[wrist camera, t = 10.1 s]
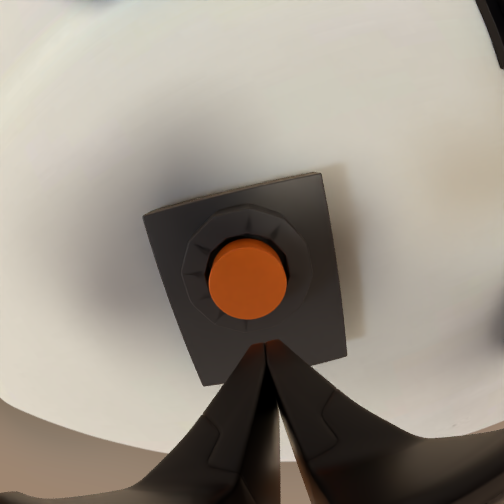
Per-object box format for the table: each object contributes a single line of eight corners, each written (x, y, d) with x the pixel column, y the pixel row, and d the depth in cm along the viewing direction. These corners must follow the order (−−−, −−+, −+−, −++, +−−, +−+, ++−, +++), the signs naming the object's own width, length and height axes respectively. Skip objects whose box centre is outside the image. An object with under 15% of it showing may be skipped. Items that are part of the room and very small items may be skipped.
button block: (341, 343, 21) (355, 372, 18) (205, 372, 21) (200, 404, 18) (314, 171, 18) (330, 174, 14) (150, 211, 18) (130, 222, 15)
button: (288, 295, 16) (293, 310, 15) (222, 310, 16) (220, 326, 15) (274, 230, 15) (278, 239, 14) (203, 247, 15) (199, 257, 14)
